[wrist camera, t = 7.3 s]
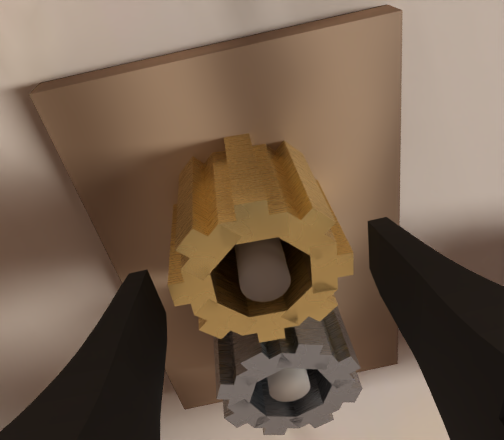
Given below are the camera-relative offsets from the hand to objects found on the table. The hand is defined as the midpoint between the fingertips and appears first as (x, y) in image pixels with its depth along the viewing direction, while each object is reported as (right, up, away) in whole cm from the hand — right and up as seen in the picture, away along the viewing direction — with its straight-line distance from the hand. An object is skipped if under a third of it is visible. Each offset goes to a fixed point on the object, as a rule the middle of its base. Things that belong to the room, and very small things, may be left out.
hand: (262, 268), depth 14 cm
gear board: (0, 0, +6) cm, 6 cm away
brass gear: (-1, +2, +3) cm, 4 cm away
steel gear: (+1, -3, +6) cm, 7 cm away
